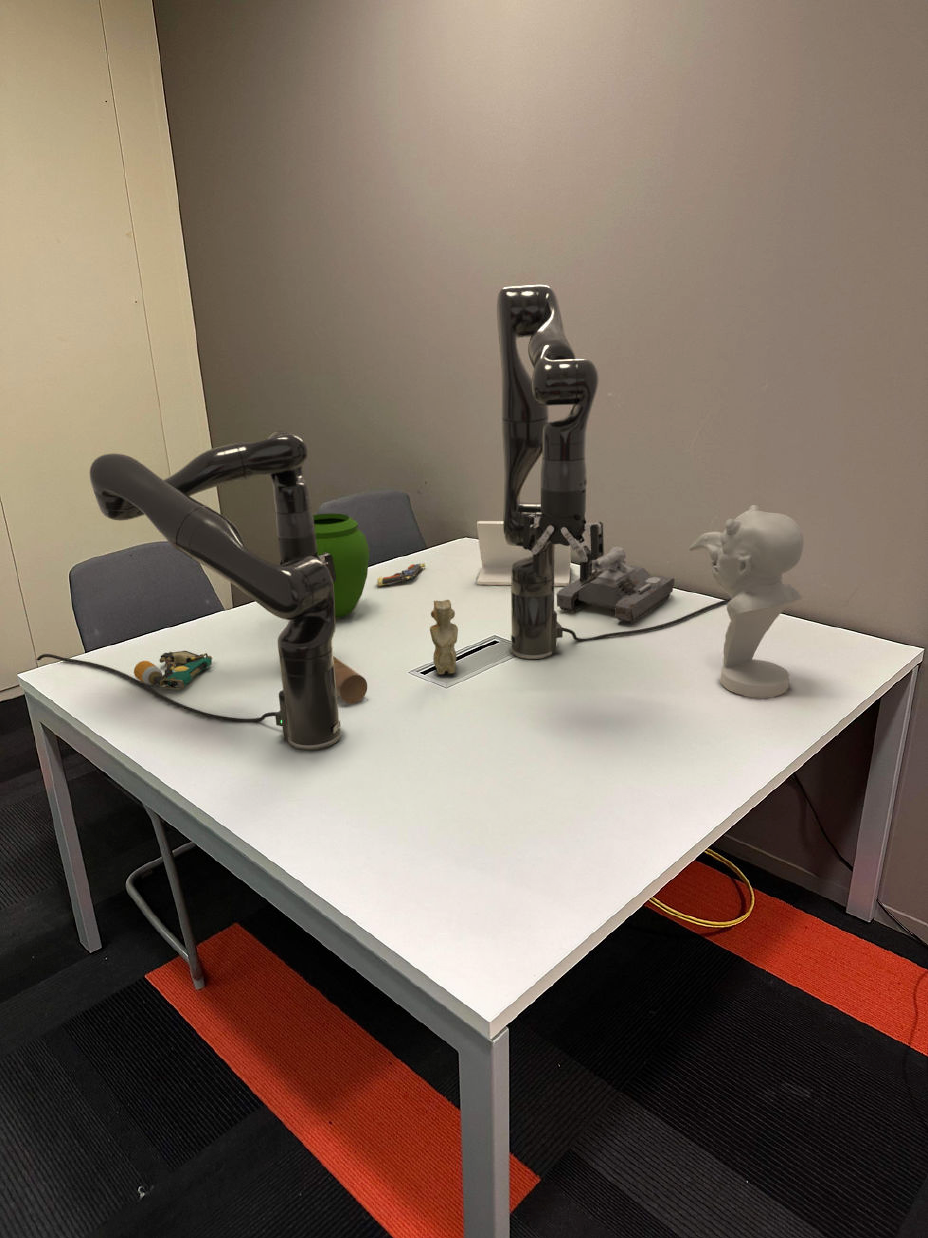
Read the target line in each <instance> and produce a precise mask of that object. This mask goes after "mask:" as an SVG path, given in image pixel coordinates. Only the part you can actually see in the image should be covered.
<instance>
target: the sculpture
mask: <svg viewBox="0 0 928 1238" xmlns="http://www.w3.org/2000/svg"><path fill="white" fill-rule="evenodd" d="M455 615H456V611H455V609H453V608H452V602H451V601H450V599H445V600H433V610H431V612H430V617H431V618H432V619H433V620H434V621H435V622H436V623H435V624H433V625H431V626H429V633H430V636H431V640H432V641H431V642H432V643H433V645H434V648H435V649H434V652H433V656H432V657H433V659H432V660H433V665H434V667H435V668H436V671H437V674H438V675H445V674H446V672H447V673H448V674H455V673H456V666H457V665H456V663H457V652H456V649H455V644H456V643H457V642H458V637H459V635H458V634H459V627H458V626H457V624H455V623H453V622H451V621H452V620H453V619H454V618H455Z"/></svg>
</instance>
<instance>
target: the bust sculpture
mask: <svg viewBox="0 0 928 1238" xmlns="http://www.w3.org/2000/svg"><path fill="white" fill-rule="evenodd" d="M724 526H725V527H724V528H725V529H724V531H723V532H719V531H708V532H705V533H703V534H701V535H699V537H698V538H696V540H695V541H694V542H693V543H692V544H691V545H690V546H689V548H688V550H689V551H690V552H694V551H699V550H702V549H703V550H708V555H709V557H710V559H711V560H712V563H710V570H711V572H712V575H713V578H714V579H715V581H716V583H717V585H718V586H719V587H720V589H722V591H724V592H726V593H727V595H728V596H730V597H731V598H730V599H731V600H730V601H729V602H727V605H726V612H727V614H728V617H729V620H730V621H729V625H728V626H727V630H726V632H725V635H724V637H725V638H724V643H723V663H722V664H723V665H722V666H721V669H720V684H721V685H722V687H724V688H725V689H726V690H727V691H730V692H731V693H734V694H737V695H740V696H745V697H750V698H765V699H766V698H773V697H774V698H775V697H778V696H781V695H783V694H785V693H786V692H787V691H788V688H789V681H790V674H789V671H788V670H787V669H786V668H784V667H783V666H781V665H779V664H777V663H774V662H771V661H768V660H762V659H755V658H754V656H755V653H756V651H757V649H758V647H759V646H760V643H761V642H762V640H763V638H764V637H765V635H766V634H767V632H768V631H769V629H770V628H771V626H773V623H774V622H775V621H776V619H777V618H778V617H779V616H780V615H781V614H782V613H783V612H785V610H786V609H787V608H788V607H790V606H791V605H793V604H794V603H795V602H796V601H799V600H801V599H803V597H802V595H801V594H800V592H799V590H798V589H797V588H796V587H795V586H794V585H792V584H790V583H784V582H783V581H782V580H783V574H786V573H787V572H789V571H791V570H792V569H793V568H794V567H796V565H797V564H798V563H799V562H800V560H801V558H802V555H803V550H804V535H803V531H802V529H801V527H800V526H799V524H798V523H797V522H796V521H795V520H794V519H792V517H790V516H788V515H787V514H784V513H777V512H766V511H762V510H761V509H760V508H759V506H758V505H757V504H755V505H750V507H749V508H748V510H746V511H744V512H743V513H740V515H738V516H737V517H735V519H733V518H729V519H727V520H726V521H725V524H724Z"/></svg>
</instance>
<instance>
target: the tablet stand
mask: <svg viewBox="0 0 928 1238" xmlns="http://www.w3.org/2000/svg"><path fill="white" fill-rule="evenodd" d="M476 531H477V537H478V544H479V551H480V557H481V558H480V559H481V570H480V573H479V575H478V577H477V580H476V581H477V582H476V584H478V585H484V586H485V585H486V586H487V585H489V586H490V585H491V586H511V567H512V565H513V563H515V562H516V561H518V560H521V559H524V558H527V557H530V556H532V555H533V553H532V552H531V551H530V550H528V549H527V550H525V549H524V548H523V547H519V546H510V545H508V544H507V543H506V541H505V537H504V530H503V520H477V522H476ZM571 560H572V558H571V545H569V546H564V545H561V544H555V555H554V587H556V586H557V587H566V586H567V585H569V584H570V580H571V579H570V578H571V565H572V564H571Z"/></svg>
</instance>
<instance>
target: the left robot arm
mask: <svg viewBox="0 0 928 1238" xmlns="http://www.w3.org/2000/svg"><path fill="white" fill-rule="evenodd" d="M308 457H309V449H308V446H307V443H306V442H305V441H304V439H303V438H301V437H300V436H298V435H296V434H294V433H292V432H291V431H287V430H278V431H274V432H273V433H272V434H270V435H269V436H268V438H266V439H263V440H258V441H254V442H251V441H241V442H239V441H238V442H235V443H231V444H227V445H226V444H225V445H221V446H218V447H214V448H210V449H208V450H206V451H204V452H202V453H200V454H198V455H197V456H195V457H194V458H193V459H192V460H190V461H189V462H188V463H186V465H183V467H181V469H179V470H178V471H176V472H175V473H173V474H172V475H170V476H168V477H166V478H164V479H163V478H162V477H160V476H158V474H156V473H155V472H153V471H152V470H151V469H149V468H148V467H147V466H145V465H144V464H143V463H141V462H140V461H138V460H137V459H135V458H134V457H132V456H129V455H126V454H123V453H117V452H116V453H113V452H111V453H105V454H102V455H100V456H98V457H96V458H95V459H94V460H93V462H92V463H91V465H90V467H89V481H90V485H91V488H92V491H93V494H94V497H95V499H96V502H97V505H98V508H99V511H100V512H101V513H102V515H103V516H105V517H106V518H108V519H110V520H113V521H129V520H132V519H133V520H134V519H137V518H140V517H141V516H145V517H146V518H147V519H148V520H149V522H151V524H152V525H153V526H154V527H155V529H156V530H157V531H158V533H160V534H161V535H162V537H164V539H165V540H166V541H167V542H168V543H169V544H170V545H171V546H172V547H174V549H176V550H178V551H179V552H180V553H182V554H184V555H185V556H186V557H188V558H190V559H191V560H193V561H195V562H197V563H199V564H201V565H202V566H204V567H206V568H207V569H209V570H210V571H212V572H214V573H215V574H216V575H218V576H219V577H221V578H223V579H224V580H226V581H227V582H229V583H230V584H232V585H234V587H237V588H238V589H239V590H240V591H242V592H243V593H244V594H245V595H247V596H248V597H249V598H250V599H252V600H253V601H254V602H256V603H257V604H258V605H260V607H262V608H263V609H265V610H266V611H267V612H268V613H270V614H272V615H273V616H275V617H276V618H278V619H282V620H286V621H288V622H287V624H286V625H285V627H284V628H283V630H282V631H281V632H280V634H279V635H278V637H277V652H278V659H279V668H280V677H281V686H282V689H281V690H280V691H279V692H278V701H279V711H271V712H266V713H264V714H262V715H261V716H260V717H255V718H242V717H241V718H240V717H231V716H225V715H218V714H213V713H208V712H205V711H201V710H198V709H196V708H193V707H190V706H188V705H184V704H182V703H180V702H178V701H175V700H173V699H171V698H169V697H168V696H165V695H163V694H161V693H160V692H159V691H158V690H157V691H156V690H155V689H153V688H152V687H150V686H149V685H147V684H145V683H143V682H142V681H140V680H139V679H137V678H134V677H132V676H131V675H128V674H126V673H124V672H122V671H120V670H118V669H114V668H112V667H109V666H106V665H103V664H99V663H95V662H91V661H86V660H81V659H74V658H68V657H63V656H59V655H55V654H51V653H43V654H41V655H39V656H38V657H37V658H36V661H41V660H43V658H51V659H55V660H57V661H61V662H67V663H73V664H74V663H75V664H80V665H85V666H89V667H94V668H98V669H102V670H105V671H107V672H108V671H109V672H111V673H114V674H116V675H119V676H120V677H123V678H125V679H127V680H129V681H131V682H133V683H135V684H136V685H138V686H139V687H141V688H143V689H145V690H146V691H148V692H150V693H151V694H153V695H154V696H156V697H157V698H160V699H161V700H164V701H165V702H168V703H170V704H171V705H173V706H175V707H177V708H179V709H183V710H185V711H188V712H191V713H193V714H196V715H199V716H202V717H206V718H210V719H214V720H219V721H221V720H222V721H228V722H234V723H260V722H263V721H264V720H265V719H266V718H268V717H274V718H275V725H276V726H278V727H282V736H283V737H282V738H283V741H284V742H287V743H288V744H289V745H290V746H291V747H293V748H295V749H297V750H301V751H302V750H303V751H317V750H322V749H325V748H329V747H331V746H333V745H335V744H336V743H337V742H338V741H340V739H341V737H342V736H341V735H342V732H341V728H340V727H341V725H342V724H341V720H340V717H339V704H338V696H337V692H336V681H335V670H334V659H333V656H334V649H333V638H334V635H335V632H336V619H335V599H334V587H333V582H335V581H336V573H335V567H334V561H333V556H332V555H330V554H328V553H326V552H325V553H323V555H321V556H318V554H317V544H316V535H315V525H314V519H313V515H314V514H313V511H312V505H311V504H312V503H311V494H310V489H309V486H308V483H307V481H306V480H305V477H304V472H303V467H302V466H304V464H305V463H306V461H307V459H308ZM260 476H270V480H271V484H272V489H273V490H272V491H273V500H274V507H275V525H276V534H277V541H278V548H279V549H278V551H279V557H280V563H279V564H274V563H271V562H270V561H268V560H267V561H266V560H265V559H263V558H261V557H259V556H258V555H256V554H255V553H253V552H252V551H250V549H248V547H247V545H246V543H245V541H244V539H243V536H242V534H241V532H240V530H239V529H238V527H237V525H236V524H234V522H233V521H231V520H230V519H229V518H228V517H226V516H224V515H223V514H222V513H219V512H218V511H216V510H214V509H212V508H211V507H209V506H207V505H205V504H203V503H201V502H200V501H199V500H198V501H197V500H196V499H194V498H193V497H192V496H194V495H196V494H198V493H201V492H204V491H207V490H210V489H213V488H217V487H219V486H220V487H221V486H224V485H228V484H232V483H236V482H241V481H244V480H248V479H251V478H254V477H260Z"/></svg>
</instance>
